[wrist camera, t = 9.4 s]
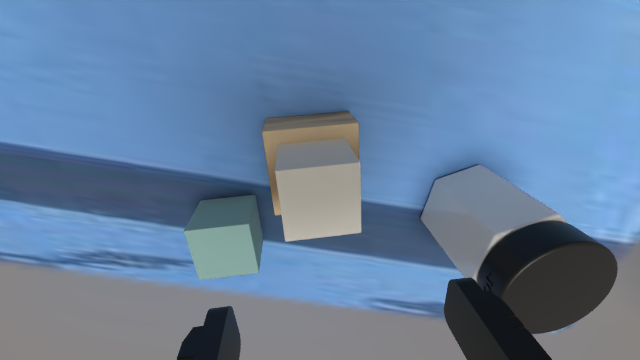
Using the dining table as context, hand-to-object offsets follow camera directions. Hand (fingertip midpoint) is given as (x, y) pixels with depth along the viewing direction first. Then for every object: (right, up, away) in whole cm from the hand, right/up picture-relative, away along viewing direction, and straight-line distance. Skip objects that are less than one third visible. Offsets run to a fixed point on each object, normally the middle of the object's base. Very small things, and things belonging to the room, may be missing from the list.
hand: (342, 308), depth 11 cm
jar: (+14, +2, +19) cm, 24 cm away
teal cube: (-9, +1, +18) cm, 20 cm away
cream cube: (-1, +5, +12) cm, 13 cm away
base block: (-2, +7, +15) cm, 17 cm away
